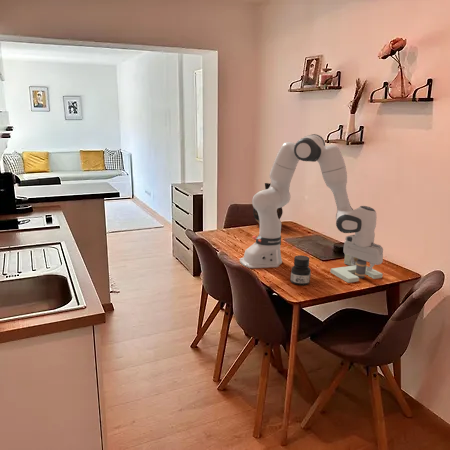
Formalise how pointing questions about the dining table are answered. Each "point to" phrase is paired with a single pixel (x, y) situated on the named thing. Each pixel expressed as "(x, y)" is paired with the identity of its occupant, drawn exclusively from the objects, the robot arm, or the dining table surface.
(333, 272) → the post stand
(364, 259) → the robot arm
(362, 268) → the grey banded cylinder
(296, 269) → the ink bottle
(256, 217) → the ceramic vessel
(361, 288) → the dining table surface
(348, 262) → the skincare box
